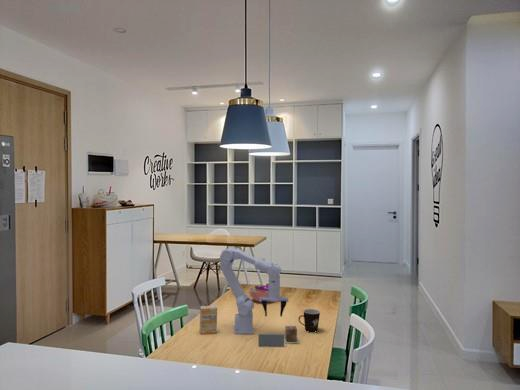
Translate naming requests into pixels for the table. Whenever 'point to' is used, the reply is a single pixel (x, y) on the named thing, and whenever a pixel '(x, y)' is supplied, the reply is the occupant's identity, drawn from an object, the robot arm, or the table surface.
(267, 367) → the table surface
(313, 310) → the coffee mug
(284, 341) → the pad
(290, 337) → the walnut block
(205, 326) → the supplement box
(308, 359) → the table surface
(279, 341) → the screen
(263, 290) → the cell model
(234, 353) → the table surface
